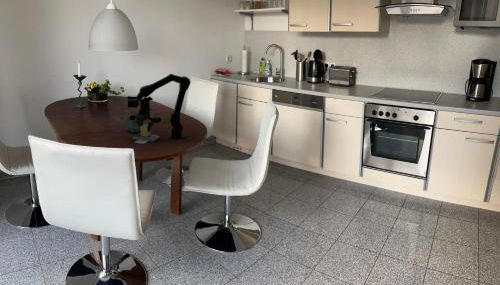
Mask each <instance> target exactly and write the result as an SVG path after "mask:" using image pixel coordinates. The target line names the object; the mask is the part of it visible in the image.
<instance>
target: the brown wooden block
mask: <svg viewBox="0 0 500 285" xmlns="http://www.w3.org/2000/svg"><path fill="white" fill-rule="evenodd" d="M140 129H141V131H140V134H141V137H145V138H149V136H151V135H152V132H151V131H152V130H151V131H150V132H149V131H148V123H147V124H145V123H143V125H141V126H140Z"/></svg>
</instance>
